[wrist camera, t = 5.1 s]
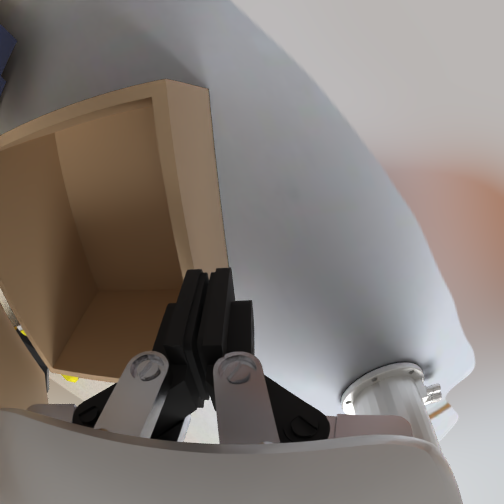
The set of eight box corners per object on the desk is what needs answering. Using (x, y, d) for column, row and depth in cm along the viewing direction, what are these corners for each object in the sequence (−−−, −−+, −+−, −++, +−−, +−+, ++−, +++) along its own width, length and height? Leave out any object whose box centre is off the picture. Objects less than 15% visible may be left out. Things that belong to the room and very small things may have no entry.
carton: (208, 89, 19) (165, 78, 9) (231, 288, 27) (222, 388, 17) (52, 126, 19) (-42, 159, 9) (98, 292, 27) (51, 372, 18)
